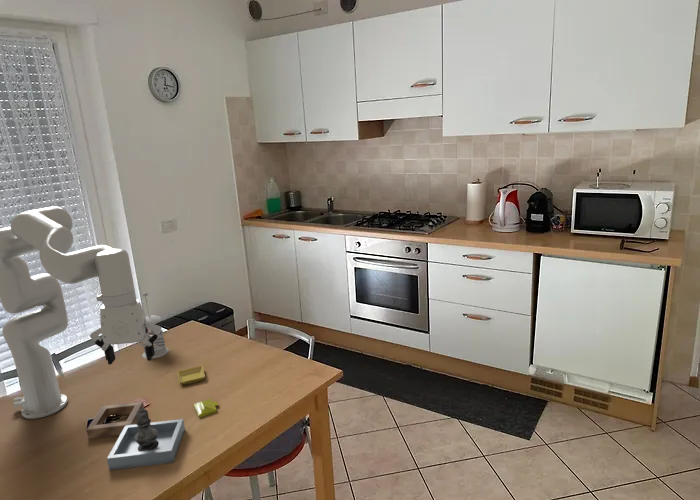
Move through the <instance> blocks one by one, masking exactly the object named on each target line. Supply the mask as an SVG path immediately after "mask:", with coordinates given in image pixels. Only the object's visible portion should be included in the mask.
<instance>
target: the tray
mask: <svg viewBox="0 0 700 500" xmlns="http://www.w3.org/2000/svg"><path fill="white" fill-rule="evenodd" d="M150 426H151V428H155V429H157V431H158V433H157V437H156V440H157V441H158V443H159V444H158V446H157V447H156V448H155V449H154V450H150V451H141V452H139V451H138V446H139V444H138V443H137V442H136V441H135V439H134V437H135V435H136V434H137V433H138V432H139V428H138V426H137V425H136V424H135V425H126V426H125V427H124V429H123V431H122V432H121V434H120V435H118V436H119V437H118V438H117V439H116V442H114V443H115V444H114V445H113V447H112V449H111V450H110V452H109V454H108V456H107V457H106V461H107V465H108V469H109V470H108V471H113V470H114V471H115V470H123V469H129V468H130V469H131V468H138V467H145V466H156V465H161V464H169V463H170V464H171V463H174V462H175V460H176V456H177V453H178V451H179V447H180V445H181V442H182V440H183V436H184V434H185V430H186V427H185V421H184V418H179V419H172V420H171V419H170V420H169V419H168V420H163V421H161V420H160V421H155V422H154V421H153V422H152V421H151V422H150Z"/></svg>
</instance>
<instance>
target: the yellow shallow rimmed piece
mask: <svg viewBox="0 0 700 500" xmlns="http://www.w3.org/2000/svg"><path fill="white" fill-rule="evenodd" d="M176 373H177V379H178V383H179V384H180V385H182V386H183V385H189V384H194V383H197V382H202V381H203V380H204V379H205V378H206V374H205V369H204V366H203V365H200V366H196V367H191V368H187V369H182V370H178V371H177V372H176Z"/></svg>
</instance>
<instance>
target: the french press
mask: <svg viewBox="0 0 700 500" xmlns="http://www.w3.org/2000/svg"><path fill="white" fill-rule="evenodd" d="M148 295H149V293H148V292H145V291H144V292H143V293H142V297H145V302H146V308H147V310H149V306H148V302H147V301H148V300H147V296H148ZM147 314H148V315H145V317H146V321H147V322H149V323H152V324H157V323H158V322H160V321H161V320H162V319H161V316H158V315H156V314H154V315H150V312H149V311H147ZM148 334H149V335H150V336H153V334H154V331H153V330H150V329H148ZM136 344H137V345H139V346H142V347H143V351H144V352H143V353H142V355H141V357H142V358H144V359H146V360H147V356H146V351H145V347H146V344H145V343H143V342H142V344H141V341H140V342H136ZM153 345H154V351H155V354H154V356H153V357H152V359H157V358H161V357H164V356H165V355H167V354H168V353H169V351H170V350H169V348H168V347H166V343H165V337H164V331H163V330H162V329H161V331H160V333H159V336H158V337H157V339H156V340H155V341H154V342H153ZM152 359H151V360H152Z"/></svg>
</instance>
